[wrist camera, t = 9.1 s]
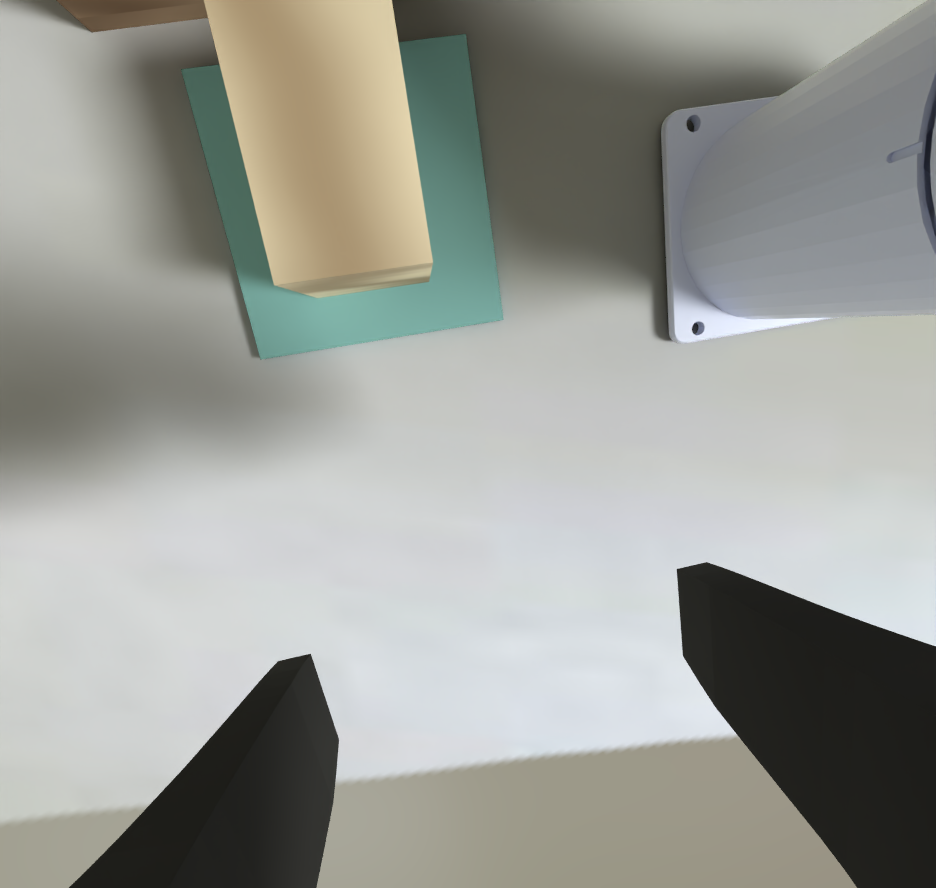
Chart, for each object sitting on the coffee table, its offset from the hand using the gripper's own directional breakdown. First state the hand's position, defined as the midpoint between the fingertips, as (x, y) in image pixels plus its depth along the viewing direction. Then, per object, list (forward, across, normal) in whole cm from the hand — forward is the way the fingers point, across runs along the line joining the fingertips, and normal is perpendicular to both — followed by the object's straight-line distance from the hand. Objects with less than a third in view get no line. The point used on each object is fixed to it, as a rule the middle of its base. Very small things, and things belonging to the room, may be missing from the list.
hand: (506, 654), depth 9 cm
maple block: (+10, +2, -11) cm, 15 cm away
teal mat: (+10, +2, -11) cm, 15 cm away
